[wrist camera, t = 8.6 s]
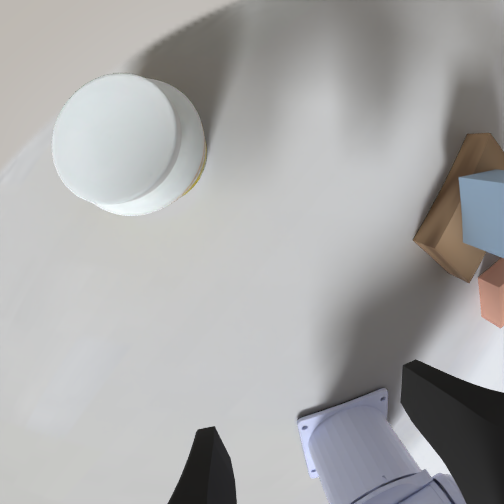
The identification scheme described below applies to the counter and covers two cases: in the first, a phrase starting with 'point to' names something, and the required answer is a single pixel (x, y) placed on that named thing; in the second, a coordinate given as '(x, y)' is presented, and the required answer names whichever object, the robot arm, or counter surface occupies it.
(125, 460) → the counter surface
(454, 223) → the base brick
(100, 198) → the supplement bottle
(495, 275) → the brick
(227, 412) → the counter surface
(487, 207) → the blue brick
